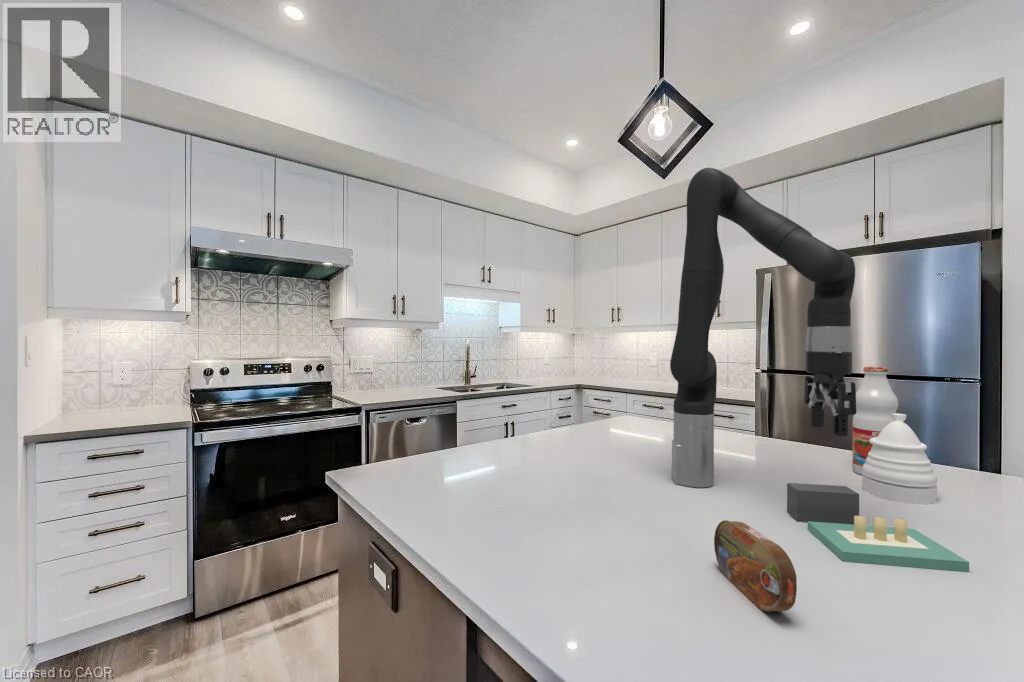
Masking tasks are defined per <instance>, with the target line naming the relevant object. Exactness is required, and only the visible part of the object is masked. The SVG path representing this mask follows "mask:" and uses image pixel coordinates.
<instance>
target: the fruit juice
mask: <svg viewBox="0 0 1024 682" xmlns="http://www.w3.org/2000/svg"><path fill="white" fill-rule="evenodd" d="M888 370H889V369H888V368H887V367H883V366H864V367H863V370H862V371H863V374H864V377H863V379H862V381H861V384H860V386H859V388H858V389H857V390H856V414H855V415H853V417H852V470H853V472H854V473H856V474H858V475H860V476H862V474H863V473H862V471H863V468H862V467H863V465H864V464H865V463H866V458H867V457H868V452H870V451H871V448H872V446H873V444H871V443H870V442H869V439H871V438H875V437H878V435H879V434H880V432H881V431H882V430H883V429H884V427H886V426H887V425H888V424H889V423H891V422H893V421H895V420H894V419H893V417H892V414H893V413H897V411H898V407H899V399H898V397H897V396H896V394H895V393H894V391H893V389H892V387H891V385H890V381H889V380H888V377H887V374H888Z"/></svg>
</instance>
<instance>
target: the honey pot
mask: <svg viewBox="0 0 1024 682" xmlns="http://www.w3.org/2000/svg"><path fill="white" fill-rule="evenodd" d="M892 417H893V419H894V420H895V421H893V422H891V423H889V424H888V425H887V426H886V427H884V429H883V430H882V431H881V432H880V434H879V435H878V437H875V438H871V439H869V442H870V443H871V444H873V446H872V448H871V451H870V452H868V457H867V458H866V463H865V464H864V465H863V467H862V468H863V471H862V473H863V474H862V475H861V476H862V477H861V478H862V479H861V480H862V483H861V484H862V488H861V489H862V490H863V492H865V491H866V492H868V493H869V495H870V496H873V495H874V497H876V496H877V497H876V498H879V497H880V499H884V500H886V499H887V501H892V502H895V501H896V502H895V503H901V502H902V504H908V503H910V504H909V505H919V504H921V505H922V506H924V505H926V506H927V505H928V504H929V505H935V504H937V502H938V486H937V484H938V482H937V481H938V477H937V475H936V474H935V472H934V468H933V466H932V465H931V464H932V462H931V460H930V459H929V458H928V455H927V453H926V452H925V451H926V450H927V449H928V447H927V445H926V444H925V443H923V442H921V441H920V439H919V438H918V436H917V435H916V433H915V432H914V430H913V429H912V428H911V427H910V426H909V425H908V424H907V423H906V422H905V420H906V419H907V417H908V416H907V414H905V413H897V412H896V413H893V414H892ZM866 492H865V493H866ZM868 493H867V494H868ZM934 503H935V504H934ZM921 505H920V506H921Z"/></svg>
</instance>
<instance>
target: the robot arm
mask: <svg viewBox="0 0 1024 682" xmlns="http://www.w3.org/2000/svg"><path fill="white" fill-rule="evenodd" d="M719 217H722V218H724V219H726V220H729V221H731V222H732V223H734V224H736V225H738V226H739V227H740V228H742V229H744V231H746V233H748V235H750V236H751V238H753V239H754V240H755V241H756V242H758V244H760V245H762V246H763V247H765V249H767V250H768V251H770V252H772V253H773V254H774V255H775V256H777V257H779V258H780V259H782V260H784V261H786V263H787V264H789V265H790V266H791V267H792V268H793V269H794V270H795V271H797V272H798V273H799V274H800V275H802V276H803V277H804V278H806V279H807V280H809V281H811V282H813V283H814V289H813V291H814V292H813V298H811V299H810V301H809V302H808V305H807V313H806V314H807V320H806V321H807V324H806V326H807V327H806V329H807V330H806V335H805V372H806V373H809V374H813V376H812V375H810V376H807V375H806V376H805V377H804V396H803V397H804V399H803V400H804V404H805V405H808V408H809V409H810V426H811V427H813V428H824V426H825V409H824V408H825V407H826V406H825V405H827V406H828V407H830V409H831V413H832V434H833V436H835V437H847V436H848V434H849V432H848V430H849V428H848V427H849V425H848V424H849V423H848V422H849V419H848V418H849V417H850V416H851V415H853V416H854V415H855V414H856V392H857V390H856V389H857V386H856V383H855V382H854V381H845V377H844V376H845V375H851V374H852V372H853V337H852V336H853V335H852V329H851V327H852V325H851V318H852V316H851V311H852V310H851V300H852V297H853V291H854V286H855V279H856V265H855V262H854V259H853V257H852V256H851V255H849V254H848V253H847V252H844V251H843V250H839V249H837V248H834V247H833V246H831V245H829V244H828V243H825V242H824V241H822V240H820V239H818V238H817V237H815V236H813V234H812V233H811V231H809V230H807V228H805V227H803V226H801V225H800V224H798V223H796V222H795V221H793V220H791V219H790V218H789V217H786V216H785V215H783V214H781V213H779V212H777V211H775V210H773V209H772V208H769V207H768V206H766V205H763V204H762V203H760V202H759V201H757V199H755V198H753V197H752V196H751V195H750V194H749V193H748V192H746V191H745V189H744V188H743V187H742V186H740V185H739V184H738V183H737V182H736V180H735V179H734V177H732V176H730V175H729V174H727V173H725V172H723V171H722V170H719V169H717V168H714V167H705V168H701V169H699V171H697V172H696V173H695V174H694V175H693V177H692V178H691V179H690V181H689V184H688V186H687V192H686V233H685V234H686V235H685V244H684V252H683V253H684V255H683V263H682V268H681V269H682V270H681V277H680V287H679V288H680V289H679V291H680V292H679V293H680V294H679V302H678V314H677V315H678V316H677V317H678V319H677V327H676V333H675V334H676V335H675V339H674V344H673V348H672V350H671V351H672V352H671V356H670V357H671V358H670V362H669V369H670V373H671V375H672V377H673V378H674V380H675V381H676V382H677V393H676V395H675V398H674V400H673V439H672V440H671V478H672V481H674V484H675V485H682V486H685V487H686V486H687V487H692V488H710V487H713V486H714V483H715V413H714V412H715V403H716V400H717V379H718V377H717V375H718V373H717V371H718V370H717V369H718V368H717V362H716V357H715V356H714V355H713V353H712V352H710V351H709V338H710V337H709V335H710V329H711V324H712V321H713V318H714V316H715V313H716V310H717V308H718V304H719V302H720V298H721V294H722V288H723V281H724V280H723V279H724V269H725V267H724V265H725V263H724V258H723V257H724V256H723V253H722V248H721V243H720V241H719V233H718V220H719ZM848 404H849V405H848Z"/></svg>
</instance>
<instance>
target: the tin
mask: <svg viewBox="0 0 1024 682" xmlns="http://www.w3.org/2000/svg"><path fill="white" fill-rule="evenodd" d="M713 537H714V538H713V544H714V552H715V553H714V554H715V558H716V561H717V565H718V566H719V569H720V571H721V573H722V575H723V576H724V577H725V578H726V580H727V581H729V582H730V584H732V585H733V586H734V587H735V588H736V589H738V590H739V591H740V592H741V593H742V594H743V595H744V596H745V597H746V598H747V599H748V600H749V601H751V602H752V603H753V604H754V605H755V606H756V607H757V608H758V609H760V610H761V611H764V612H768V613H772V612H785V611H788V610H790V609H792V608H793V607H794V605H795V604H796V598H797V592H798V591H797V588H798V586H797V585H798V584H797V583H798V582H797V573H796V570H795V567H794V564H793V561H792V560H791V558H790V557H789V555H788V554H787V552H786V551H785V550H784V549H783V547H781V546H780V545H779V544H778V543H776V542H774V541H773V540H771V539H769V538H768V537H767V536H765V535H763V534H762V533H761V532H758V531H757V530H756V529H755V528H753V527H751V526H750V525H748V524H747V523H745V522H742V521H735V520H734V521H732V520H721V521H720V522H719V523H718V525H717V526H716V528H715V532H714V536H713Z"/></svg>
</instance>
